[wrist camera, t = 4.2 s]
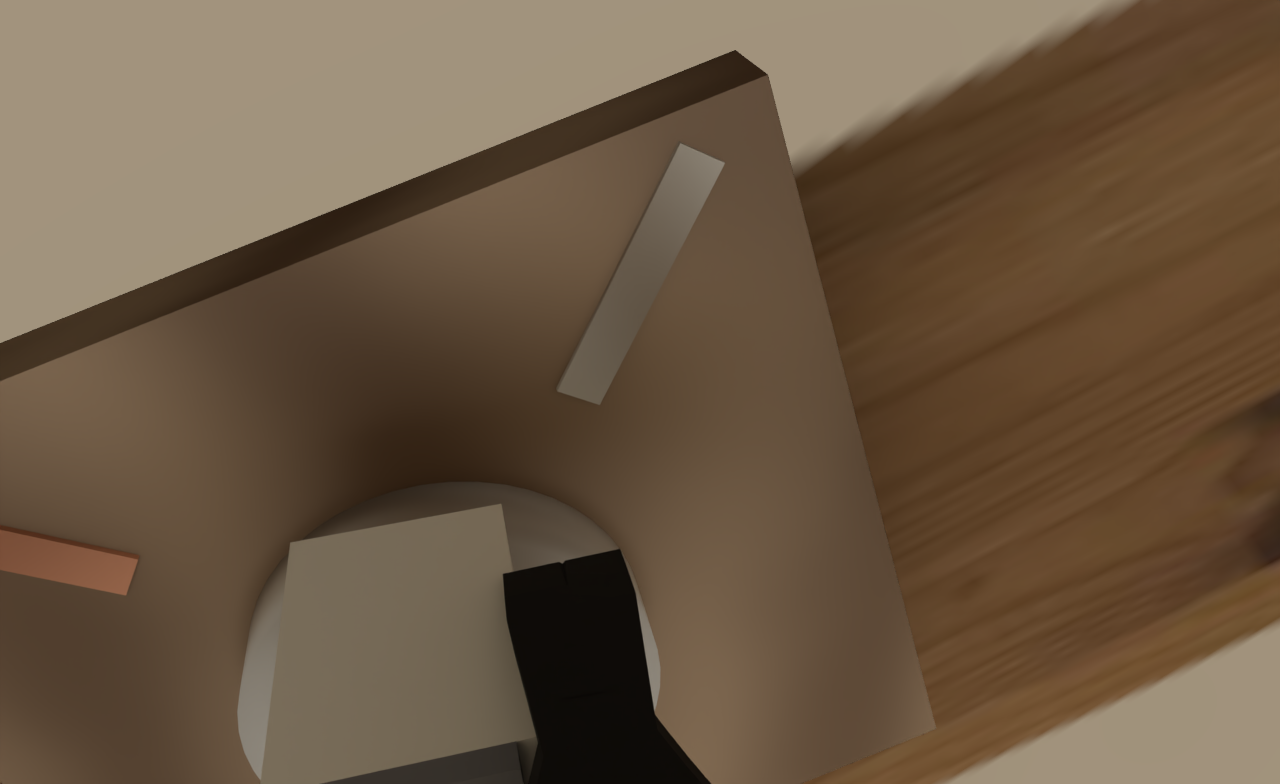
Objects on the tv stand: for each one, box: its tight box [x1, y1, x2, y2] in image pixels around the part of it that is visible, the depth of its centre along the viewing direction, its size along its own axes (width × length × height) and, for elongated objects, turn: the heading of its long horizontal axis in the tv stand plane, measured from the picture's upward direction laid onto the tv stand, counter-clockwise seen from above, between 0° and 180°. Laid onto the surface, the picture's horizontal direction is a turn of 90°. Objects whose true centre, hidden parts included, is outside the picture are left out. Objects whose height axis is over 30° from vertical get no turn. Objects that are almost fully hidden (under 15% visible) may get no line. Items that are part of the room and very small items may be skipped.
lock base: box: [0, 50, 936, 784], centre depth 17 cm, size 15×14×3 cm
